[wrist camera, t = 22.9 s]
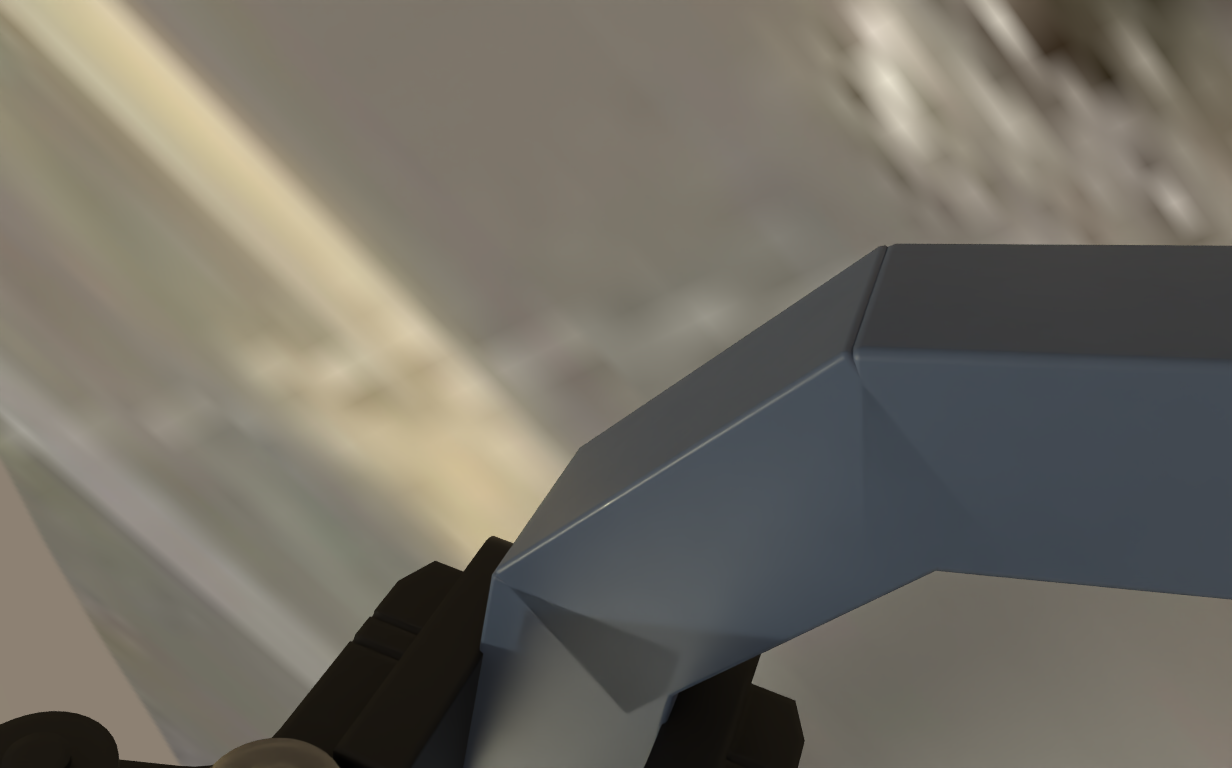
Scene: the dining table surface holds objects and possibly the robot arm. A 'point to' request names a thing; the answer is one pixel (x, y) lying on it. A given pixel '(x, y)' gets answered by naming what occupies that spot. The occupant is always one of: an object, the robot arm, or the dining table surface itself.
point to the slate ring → (869, 478)
